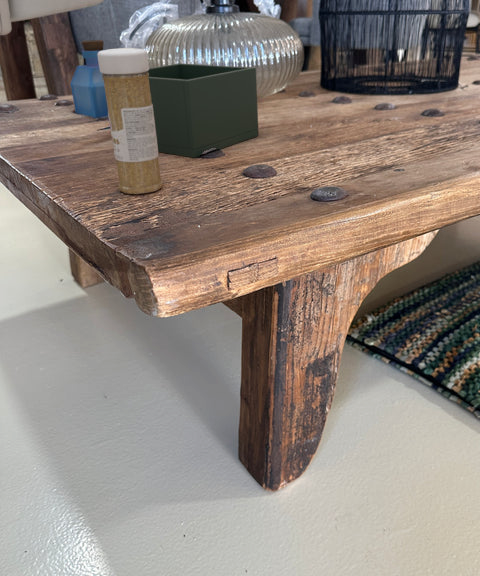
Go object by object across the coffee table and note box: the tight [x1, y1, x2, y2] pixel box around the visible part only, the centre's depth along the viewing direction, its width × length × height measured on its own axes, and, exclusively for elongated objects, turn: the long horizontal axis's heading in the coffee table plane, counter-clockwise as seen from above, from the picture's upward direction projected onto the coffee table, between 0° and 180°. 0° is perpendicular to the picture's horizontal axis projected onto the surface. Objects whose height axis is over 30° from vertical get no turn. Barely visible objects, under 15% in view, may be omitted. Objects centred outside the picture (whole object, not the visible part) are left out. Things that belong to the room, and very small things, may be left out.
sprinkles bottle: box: [97, 47, 164, 195], centre depth 56 cm, size 5×5×14 cm
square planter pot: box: [148, 62, 260, 159], centre depth 76 cm, size 14×14×9 cm
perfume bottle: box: [69, 39, 110, 132], centre depth 86 cm, size 6×6×12 cm
